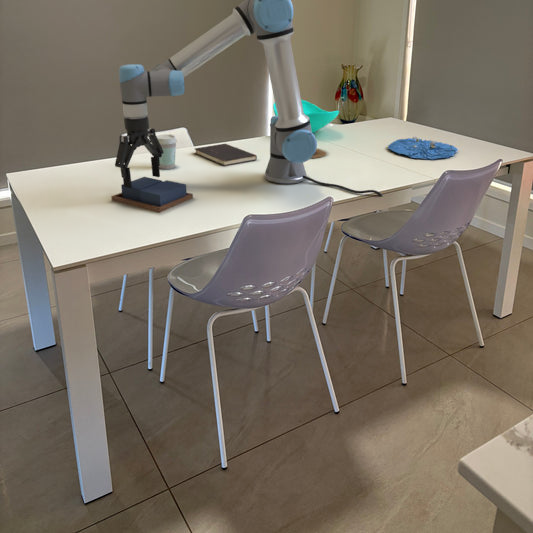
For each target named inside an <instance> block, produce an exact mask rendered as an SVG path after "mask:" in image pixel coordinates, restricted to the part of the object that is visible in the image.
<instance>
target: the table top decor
mask: <svg viewBox="0 0 533 533" xmlns="http://www.w3.org/2000/svg"><path fill="white" fill-rule="evenodd" d="M301 101H302V107H303V112H304V114H305V115H306V116H308V117H309V120H310V125H311V130H312V133H313V134H314V133H315V132H318V131H319V130H320V129H323V128H324V127H327V125H329V124H330V123H332V122H333V121H334V120H335V119H336V118H337V117H338V115H339V114H340V110H334V111H328V110H324V109H322V108H321V107H318V106H317V105H316V104H314V103H311V102H310V101H307V100H304V99H301ZM272 106H273V108H272V109H273V112H274V116H278V114H277V109H276V104H275V102H274V103H273V104H272Z"/></svg>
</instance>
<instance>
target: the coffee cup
mask: <svg viewBox="0 0 533 533" xmlns="http://www.w3.org/2000/svg"><path fill="white" fill-rule="evenodd" d="M156 137H157V139H158V141H159V143H160V145H161V147H162V149H163V152H164V153H163V154H162V157H161V158H160V157H159V160H160V166H159V169H161V170H172V169H175V167H176V151H177V142H178V141H177V138H176V136H175V135H173V134H159V135H156Z"/></svg>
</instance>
